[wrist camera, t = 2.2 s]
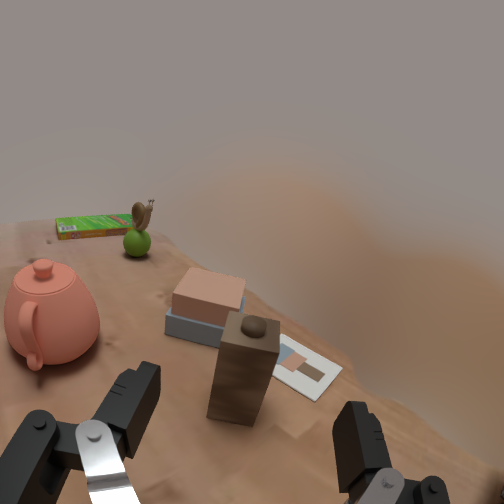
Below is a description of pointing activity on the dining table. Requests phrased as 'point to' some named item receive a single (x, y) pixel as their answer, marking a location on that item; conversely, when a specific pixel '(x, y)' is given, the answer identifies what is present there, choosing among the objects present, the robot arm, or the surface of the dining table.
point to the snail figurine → (138, 231)
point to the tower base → (204, 306)
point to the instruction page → (304, 369)
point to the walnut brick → (243, 368)
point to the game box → (93, 226)
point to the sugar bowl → (50, 314)
